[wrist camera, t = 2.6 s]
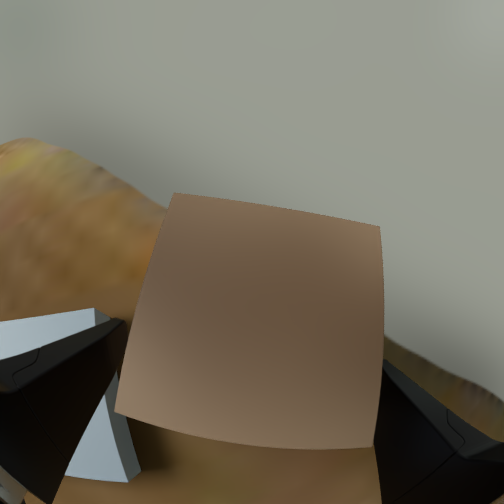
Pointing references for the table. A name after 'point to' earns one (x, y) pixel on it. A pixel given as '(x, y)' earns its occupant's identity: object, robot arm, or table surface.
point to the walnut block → (258, 327)
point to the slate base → (104, 419)
